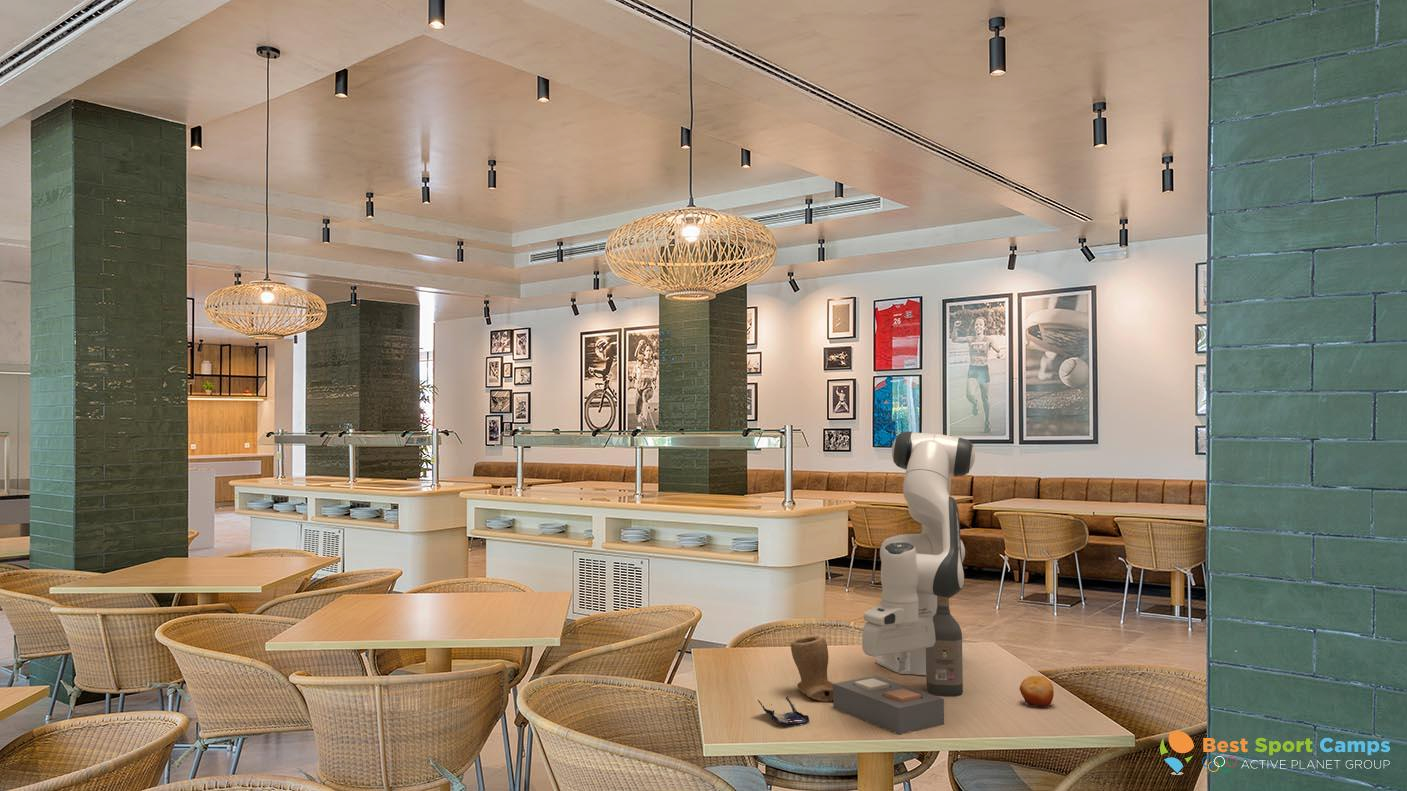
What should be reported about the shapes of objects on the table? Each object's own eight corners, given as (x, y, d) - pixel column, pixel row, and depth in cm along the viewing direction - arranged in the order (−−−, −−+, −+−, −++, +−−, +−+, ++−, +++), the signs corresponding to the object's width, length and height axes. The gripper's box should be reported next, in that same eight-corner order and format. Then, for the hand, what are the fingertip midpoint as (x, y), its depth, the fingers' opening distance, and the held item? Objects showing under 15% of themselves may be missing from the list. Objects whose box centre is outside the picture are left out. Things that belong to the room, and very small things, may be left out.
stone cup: (786, 688, 254) (785, 632, 255) (828, 686, 257) (828, 630, 257) (802, 705, 240) (801, 645, 240) (847, 702, 242) (846, 643, 242)
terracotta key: (884, 705, 227) (884, 692, 227) (903, 701, 230) (903, 688, 230) (901, 712, 222) (901, 698, 222) (920, 708, 225) (920, 694, 225)
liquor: (963, 697, 246) (961, 580, 247) (927, 695, 247) (925, 579, 248) (961, 687, 255) (959, 575, 255) (926, 685, 256) (924, 574, 257)
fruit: (1058, 695, 242) (1054, 671, 238) (1053, 718, 236) (1049, 695, 232) (1025, 690, 246) (1021, 667, 242) (1020, 713, 240) (1015, 690, 236)
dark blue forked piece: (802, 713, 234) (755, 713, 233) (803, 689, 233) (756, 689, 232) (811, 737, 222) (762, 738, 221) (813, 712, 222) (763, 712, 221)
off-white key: (854, 694, 236) (854, 681, 236) (873, 691, 239) (873, 678, 239) (870, 700, 231) (870, 687, 231) (889, 696, 234) (889, 683, 234)
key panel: (833, 707, 237) (833, 683, 237) (876, 699, 244) (876, 675, 244) (899, 734, 217) (899, 708, 217) (944, 724, 224) (943, 698, 224)
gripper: (923, 604, 235) (923, 660, 234) (858, 614, 224) (858, 672, 224) (941, 609, 229) (941, 667, 229) (875, 619, 219) (875, 679, 219)
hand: (899, 670), depth 227 cm, fingers closed
